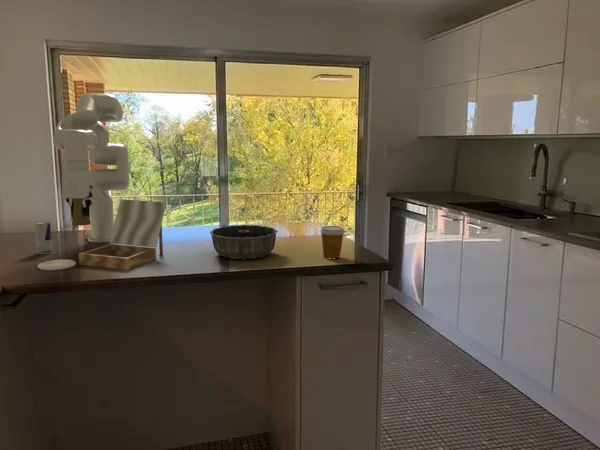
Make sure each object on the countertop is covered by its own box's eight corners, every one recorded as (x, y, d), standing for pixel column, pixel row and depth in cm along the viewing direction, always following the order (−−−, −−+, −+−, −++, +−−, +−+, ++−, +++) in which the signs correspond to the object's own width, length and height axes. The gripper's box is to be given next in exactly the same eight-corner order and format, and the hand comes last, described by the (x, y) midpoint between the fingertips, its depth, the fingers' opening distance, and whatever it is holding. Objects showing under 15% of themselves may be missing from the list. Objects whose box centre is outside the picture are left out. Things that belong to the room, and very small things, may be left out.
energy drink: (55, 252, 191) (53, 222, 189) (44, 255, 186) (42, 224, 184) (45, 250, 193) (42, 221, 191) (33, 253, 188) (31, 223, 186)
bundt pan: (222, 266, 175) (222, 239, 173) (202, 251, 198) (201, 227, 196) (288, 259, 187) (288, 234, 185) (261, 245, 210) (261, 223, 208)
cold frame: (79, 264, 174) (75, 207, 170) (123, 249, 198) (121, 199, 194) (127, 269, 168) (125, 210, 164) (167, 253, 192) (166, 201, 188)
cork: (75, 222, 174) (73, 192, 173) (92, 222, 175) (91, 192, 173) (69, 225, 169) (67, 194, 167) (87, 225, 169) (85, 194, 167)
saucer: (29, 268, 167) (29, 266, 167) (56, 260, 179) (56, 258, 178) (57, 271, 164) (57, 269, 164) (83, 263, 175) (83, 261, 175)
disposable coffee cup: (346, 256, 193) (348, 227, 191) (338, 261, 184) (339, 230, 182) (324, 253, 197) (325, 224, 195) (315, 258, 188) (316, 228, 186)
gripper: (49, 165, 167) (53, 217, 170) (90, 167, 163) (93, 220, 166) (64, 164, 174) (68, 214, 177) (104, 166, 170) (107, 217, 173)
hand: (80, 217), depth 172 cm, fingers closed on cork, 3 cm apart
